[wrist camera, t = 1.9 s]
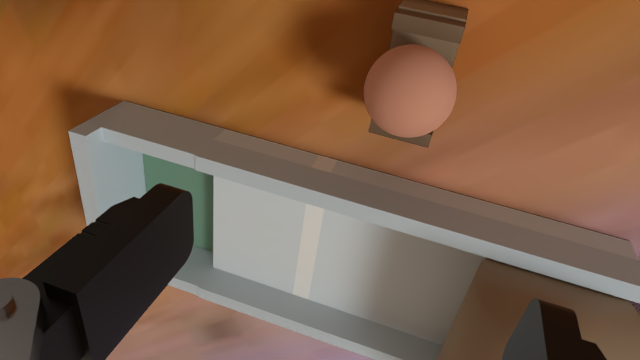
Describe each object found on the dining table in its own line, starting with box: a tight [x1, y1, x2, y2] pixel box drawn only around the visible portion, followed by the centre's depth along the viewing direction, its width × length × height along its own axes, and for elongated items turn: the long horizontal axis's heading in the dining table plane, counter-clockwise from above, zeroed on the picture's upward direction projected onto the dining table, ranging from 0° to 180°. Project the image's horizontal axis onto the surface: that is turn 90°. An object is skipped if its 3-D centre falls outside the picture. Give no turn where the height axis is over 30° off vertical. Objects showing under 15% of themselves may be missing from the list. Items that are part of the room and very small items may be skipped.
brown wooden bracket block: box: [369, 0, 468, 148], centre depth 22 cm, size 6×3×3 cm, turn 172°
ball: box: [364, 44, 457, 138], centre depth 20 cm, size 4×4×4 cm
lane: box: [68, 101, 640, 360], centre depth 27 cm, size 12×32×10 cm, turn 82°
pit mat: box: [143, 154, 214, 252], centre depth 33 cm, size 10×6×1 cm, turn 172°
